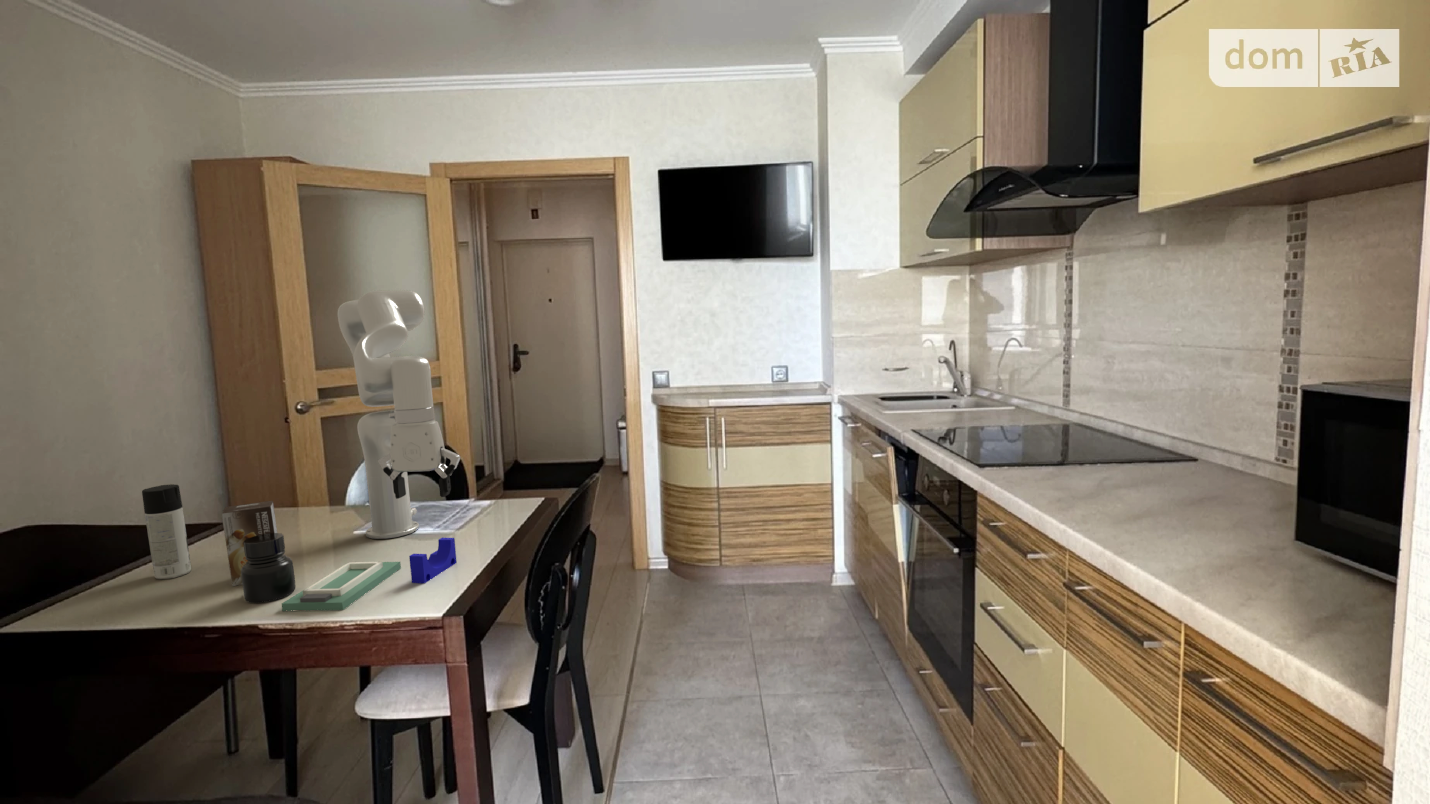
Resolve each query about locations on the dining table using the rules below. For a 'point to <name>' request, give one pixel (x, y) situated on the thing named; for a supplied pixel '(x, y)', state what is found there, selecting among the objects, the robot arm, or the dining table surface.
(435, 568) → the cable clip
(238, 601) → the dining table surface
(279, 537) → the ink bottle
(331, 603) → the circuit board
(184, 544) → the spray can
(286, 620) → the dining table surface
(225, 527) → the coffee box
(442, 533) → the dining table surface
